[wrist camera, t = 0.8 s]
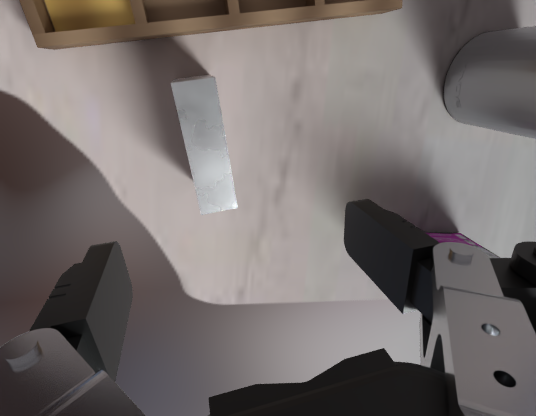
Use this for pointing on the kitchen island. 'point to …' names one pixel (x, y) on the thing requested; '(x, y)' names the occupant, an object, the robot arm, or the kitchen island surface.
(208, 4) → the rack
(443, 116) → the kitchen island surface
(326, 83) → the kitchen island surface
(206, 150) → the panel
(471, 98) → the robot arm
